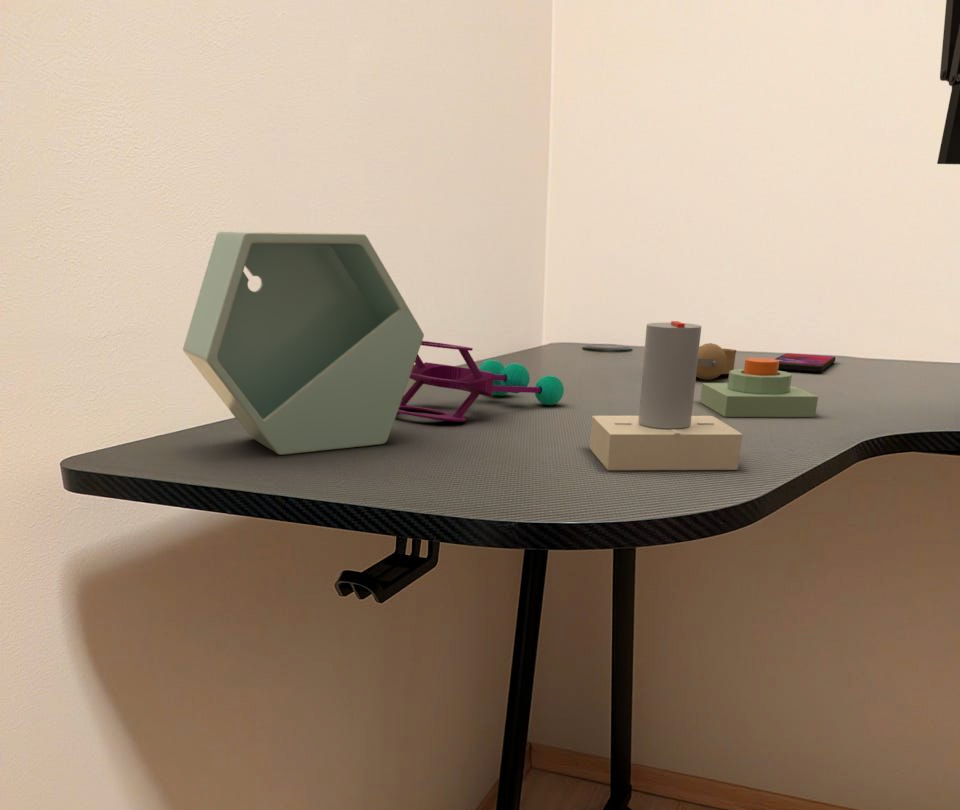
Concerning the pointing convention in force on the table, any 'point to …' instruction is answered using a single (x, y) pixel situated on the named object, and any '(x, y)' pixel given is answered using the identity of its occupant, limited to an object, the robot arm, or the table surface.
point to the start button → (761, 366)
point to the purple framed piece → (476, 382)
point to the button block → (758, 396)
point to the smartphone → (804, 362)
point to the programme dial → (669, 374)
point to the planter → (304, 339)
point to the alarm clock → (714, 361)
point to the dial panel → (665, 445)
